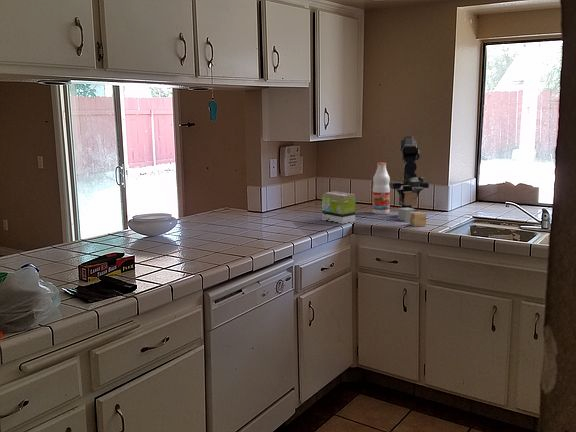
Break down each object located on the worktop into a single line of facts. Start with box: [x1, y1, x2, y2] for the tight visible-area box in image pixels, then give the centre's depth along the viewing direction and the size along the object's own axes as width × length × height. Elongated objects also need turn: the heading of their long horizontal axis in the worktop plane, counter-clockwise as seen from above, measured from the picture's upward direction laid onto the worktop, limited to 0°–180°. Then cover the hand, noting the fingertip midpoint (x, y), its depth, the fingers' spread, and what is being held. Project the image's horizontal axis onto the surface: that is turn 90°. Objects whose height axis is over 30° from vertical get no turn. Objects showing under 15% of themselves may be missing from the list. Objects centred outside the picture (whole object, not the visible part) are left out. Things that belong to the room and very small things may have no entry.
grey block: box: [397, 207, 416, 222], centre depth 303 cm, size 6×6×6 cm
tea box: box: [321, 190, 356, 225], centre depth 300 cm, size 15×10×15 cm, turn 42°
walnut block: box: [400, 192, 418, 206], centre depth 289 cm, size 6×6×6 cm
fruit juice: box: [371, 162, 391, 215], centre depth 322 cm, size 9×9×28 cm
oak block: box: [409, 211, 427, 227], centre depth 289 cm, size 6×6×6 cm
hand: (408, 202), depth 290 cm, fingers closed on walnut block, 6 cm apart
